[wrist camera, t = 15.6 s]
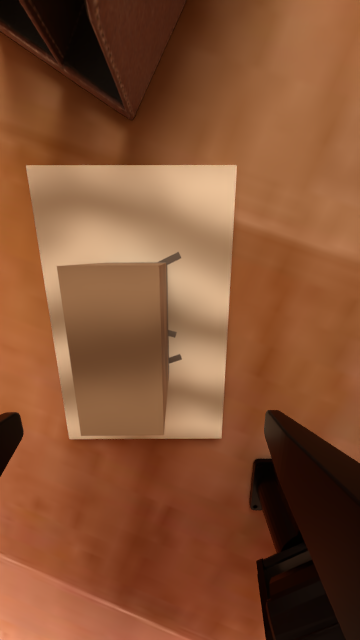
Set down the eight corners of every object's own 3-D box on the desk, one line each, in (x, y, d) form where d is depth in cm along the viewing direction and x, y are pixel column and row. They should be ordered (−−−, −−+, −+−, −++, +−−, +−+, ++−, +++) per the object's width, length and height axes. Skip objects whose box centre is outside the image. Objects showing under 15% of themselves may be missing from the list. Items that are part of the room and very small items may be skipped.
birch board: (218, 426, 22) (221, 438, 21) (76, 427, 22) (69, 439, 21) (231, 173, 17) (236, 165, 15) (39, 173, 16) (25, 165, 15)
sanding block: (169, 372, 19) (163, 435, 12) (115, 373, 19) (81, 435, 12) (167, 262, 17) (159, 265, 10) (105, 262, 17) (56, 266, 10)
